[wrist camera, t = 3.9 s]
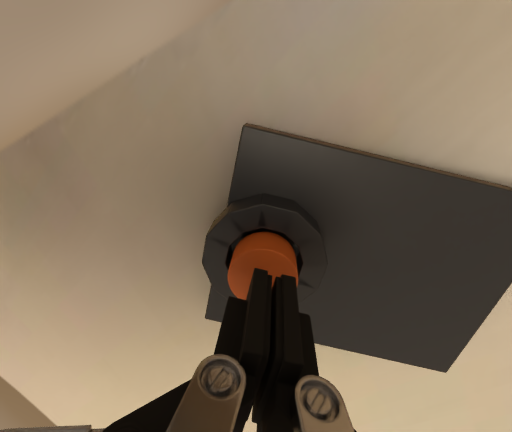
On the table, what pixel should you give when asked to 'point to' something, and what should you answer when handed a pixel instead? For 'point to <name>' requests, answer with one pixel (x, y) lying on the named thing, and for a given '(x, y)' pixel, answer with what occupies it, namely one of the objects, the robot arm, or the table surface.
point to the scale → (370, 244)
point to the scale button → (260, 260)
